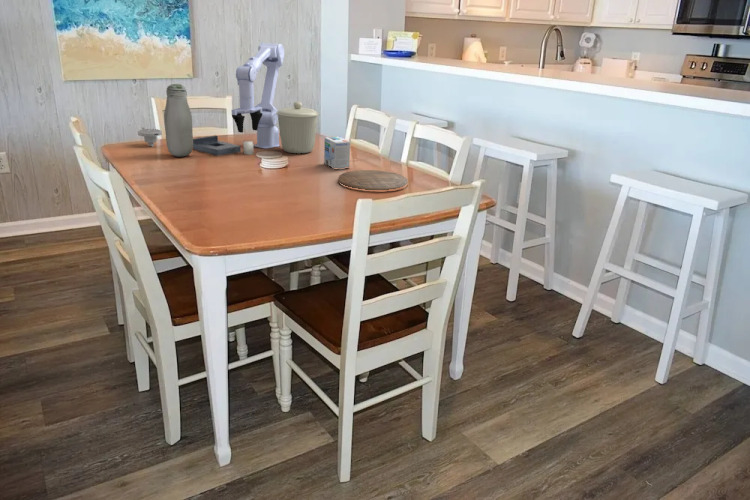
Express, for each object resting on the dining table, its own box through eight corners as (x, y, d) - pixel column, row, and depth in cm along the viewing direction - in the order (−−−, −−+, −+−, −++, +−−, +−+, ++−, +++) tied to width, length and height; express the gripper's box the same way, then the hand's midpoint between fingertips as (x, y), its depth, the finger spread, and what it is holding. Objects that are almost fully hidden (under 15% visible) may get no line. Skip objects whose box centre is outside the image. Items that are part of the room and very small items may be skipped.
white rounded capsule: (249, 152, 243) (248, 140, 242) (255, 153, 241) (255, 142, 239) (241, 153, 240) (241, 141, 239) (248, 155, 238) (247, 143, 236)
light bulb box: (323, 163, 231) (323, 136, 227) (338, 162, 234) (339, 136, 230) (334, 170, 222) (334, 142, 218) (350, 169, 225) (350, 141, 221)
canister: (316, 157, 241) (316, 105, 233) (273, 154, 241) (272, 103, 233) (321, 148, 258) (321, 99, 250) (280, 146, 258) (280, 97, 250)
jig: (216, 145, 252) (215, 135, 251) (240, 151, 244) (240, 141, 242) (193, 149, 243) (192, 138, 242) (217, 155, 234) (217, 144, 233)
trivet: (329, 176, 214) (329, 171, 213) (392, 173, 222) (392, 168, 222) (350, 195, 192) (351, 190, 192) (418, 191, 201) (419, 186, 200)
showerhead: (152, 126, 249) (165, 129, 244) (153, 142, 252) (167, 146, 247) (132, 128, 242) (145, 131, 237) (134, 145, 245) (147, 149, 240)
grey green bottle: (178, 160, 225) (172, 86, 214) (162, 155, 230) (156, 83, 220) (199, 156, 232) (194, 84, 222) (183, 152, 238) (178, 82, 227)
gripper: (239, 99, 225) (240, 134, 230) (266, 97, 235) (267, 130, 241) (227, 97, 228) (229, 132, 233) (255, 95, 239) (256, 128, 244)
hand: (247, 131), depth 237 cm, fingers open, 7 cm apart
